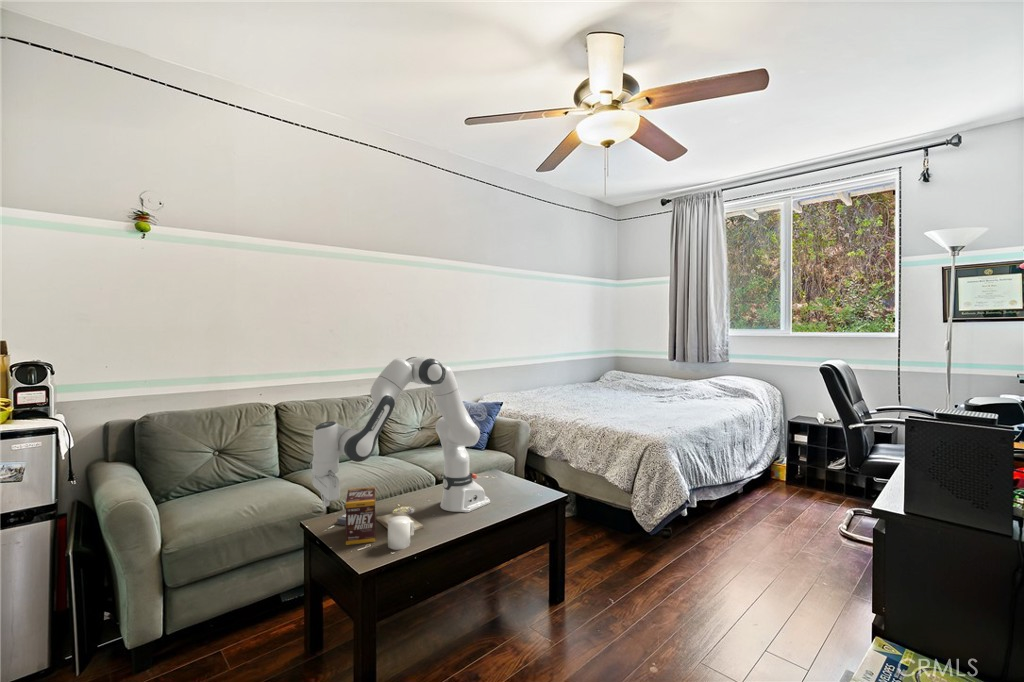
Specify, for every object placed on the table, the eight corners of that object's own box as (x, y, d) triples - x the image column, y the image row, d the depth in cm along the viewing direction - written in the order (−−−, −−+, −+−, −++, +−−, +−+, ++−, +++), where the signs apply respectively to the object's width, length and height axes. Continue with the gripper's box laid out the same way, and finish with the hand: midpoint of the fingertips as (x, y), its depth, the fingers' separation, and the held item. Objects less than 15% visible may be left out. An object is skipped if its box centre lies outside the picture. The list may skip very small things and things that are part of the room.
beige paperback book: (402, 512, 201) (402, 509, 201) (423, 527, 187) (423, 524, 187) (376, 519, 194) (376, 516, 194) (395, 535, 180) (395, 532, 180)
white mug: (407, 536, 180) (407, 513, 179) (417, 544, 173) (417, 520, 173) (384, 543, 174) (384, 519, 173) (393, 551, 168) (393, 526, 167)
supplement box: (345, 545, 172) (345, 503, 171) (347, 527, 187) (347, 488, 186) (375, 542, 175) (375, 500, 174) (375, 524, 189) (375, 486, 189)
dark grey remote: (360, 509, 205) (360, 503, 205) (370, 511, 204) (370, 504, 204) (337, 524, 190) (337, 517, 190) (348, 526, 188) (348, 519, 188)
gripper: (344, 473, 165) (344, 512, 166) (325, 459, 181) (325, 494, 182) (326, 476, 161) (326, 516, 162) (308, 462, 177) (308, 498, 178)
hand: (325, 505), depth 172 cm, fingers closed
